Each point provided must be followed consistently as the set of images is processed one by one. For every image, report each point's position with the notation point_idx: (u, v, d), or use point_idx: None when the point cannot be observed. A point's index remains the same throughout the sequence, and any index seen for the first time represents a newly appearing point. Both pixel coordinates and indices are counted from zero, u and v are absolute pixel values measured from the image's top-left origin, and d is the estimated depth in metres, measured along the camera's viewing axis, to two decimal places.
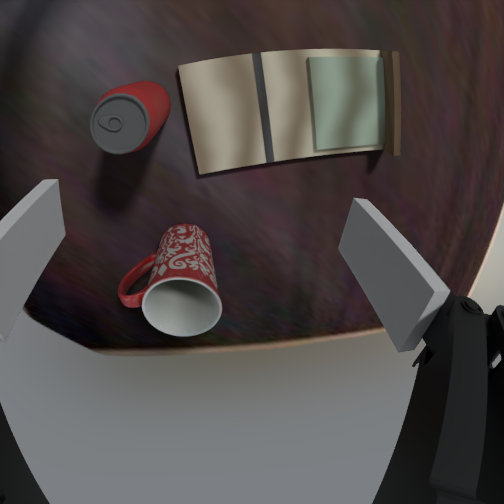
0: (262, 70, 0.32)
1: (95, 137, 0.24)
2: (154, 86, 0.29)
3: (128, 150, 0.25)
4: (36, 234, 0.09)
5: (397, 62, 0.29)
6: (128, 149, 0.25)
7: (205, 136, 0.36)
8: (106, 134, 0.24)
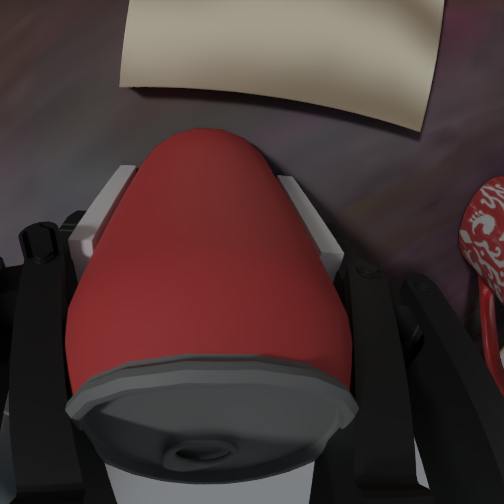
0: None
1: (231, 478, 0.06)
2: (143, 169, 0.10)
3: None
4: None
5: None
6: (337, 429, 0.05)
7: (345, 74, 0.11)
8: (235, 459, 0.06)
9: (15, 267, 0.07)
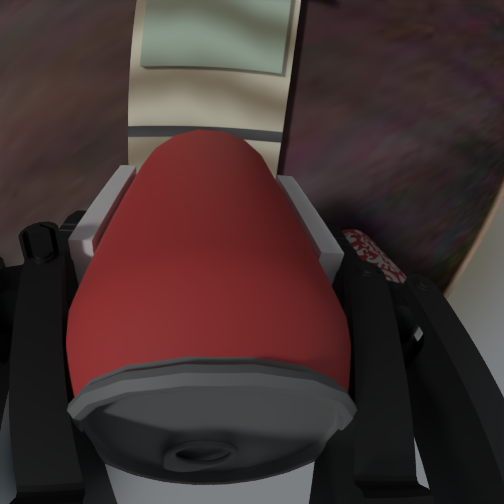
0: (152, 126, 0.25)
1: (230, 478, 0.06)
2: (143, 171, 0.10)
3: None
4: None
5: None
6: (336, 430, 0.05)
7: None
8: (235, 460, 0.06)
9: (15, 267, 0.07)
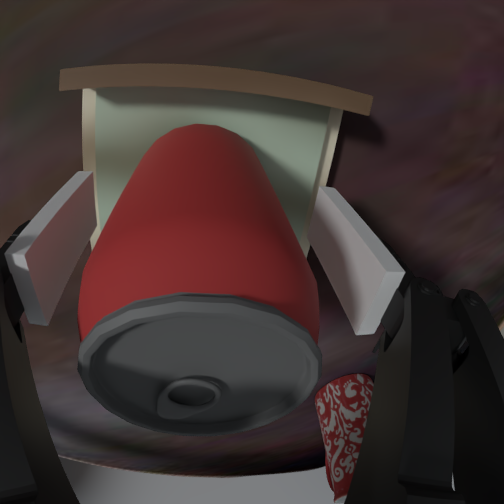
0: None
1: (216, 430, 0.08)
2: (146, 159, 0.11)
3: (312, 382, 0.07)
4: (75, 222, 0.11)
5: (89, 72, 0.10)
6: (306, 378, 0.07)
7: None
8: (220, 408, 0.08)
9: None
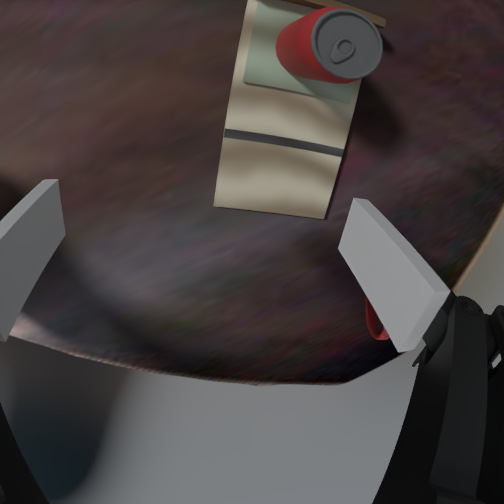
0: (245, 131, 0.33)
1: (348, 75, 0.19)
2: None
3: (381, 51, 0.18)
4: (36, 234, 0.09)
5: None
6: (379, 51, 0.18)
7: (291, 202, 0.38)
8: (351, 63, 0.18)
9: None
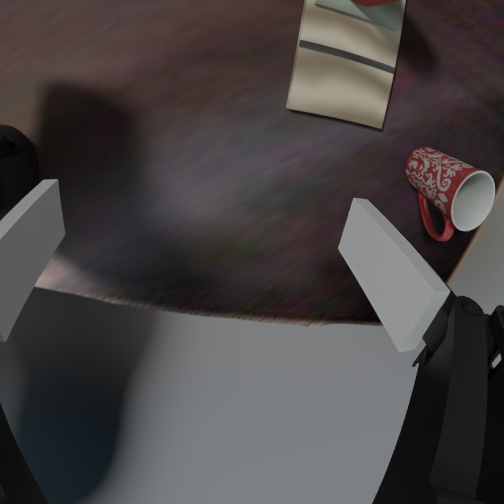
0: (316, 44, 0.32)
1: None
2: None
3: None
4: (36, 234, 0.10)
5: None
6: None
7: (355, 110, 0.37)
8: None
9: None
